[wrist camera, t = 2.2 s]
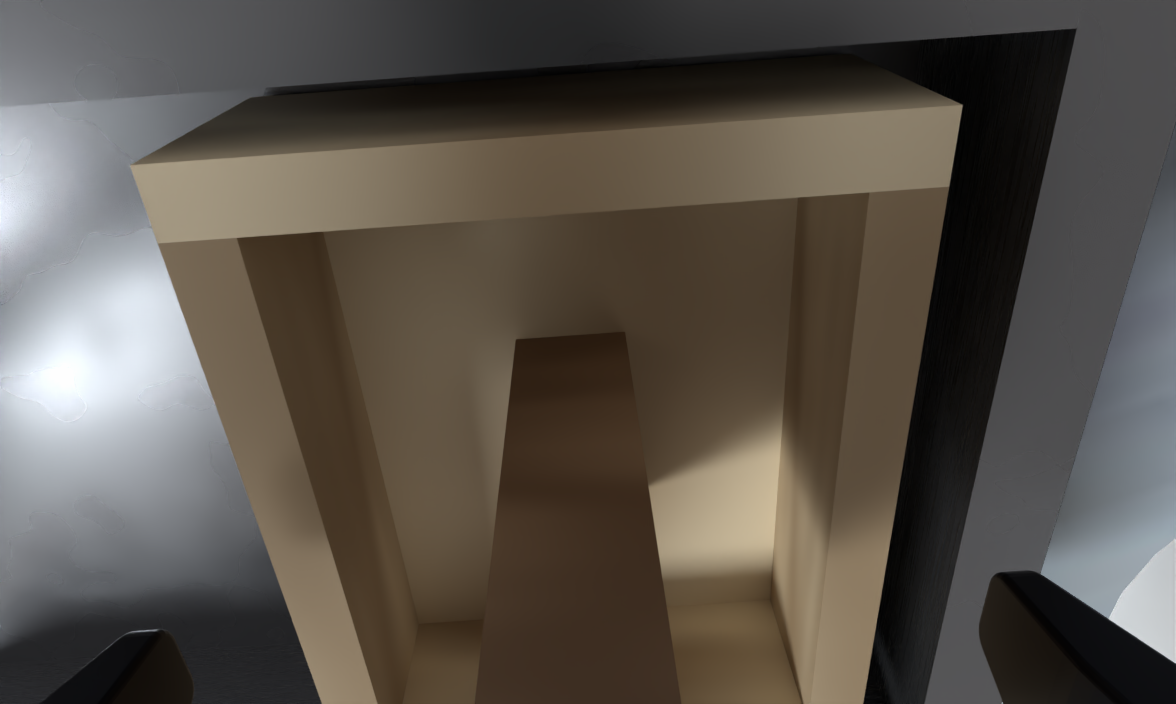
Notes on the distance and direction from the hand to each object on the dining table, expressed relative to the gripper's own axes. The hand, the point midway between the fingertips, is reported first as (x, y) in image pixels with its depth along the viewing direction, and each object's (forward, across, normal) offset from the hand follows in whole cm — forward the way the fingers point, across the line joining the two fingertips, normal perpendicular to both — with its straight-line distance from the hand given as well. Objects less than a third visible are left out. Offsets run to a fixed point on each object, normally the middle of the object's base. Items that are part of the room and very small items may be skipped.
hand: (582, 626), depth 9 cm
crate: (+5, 0, 0) cm, 5 cm away
